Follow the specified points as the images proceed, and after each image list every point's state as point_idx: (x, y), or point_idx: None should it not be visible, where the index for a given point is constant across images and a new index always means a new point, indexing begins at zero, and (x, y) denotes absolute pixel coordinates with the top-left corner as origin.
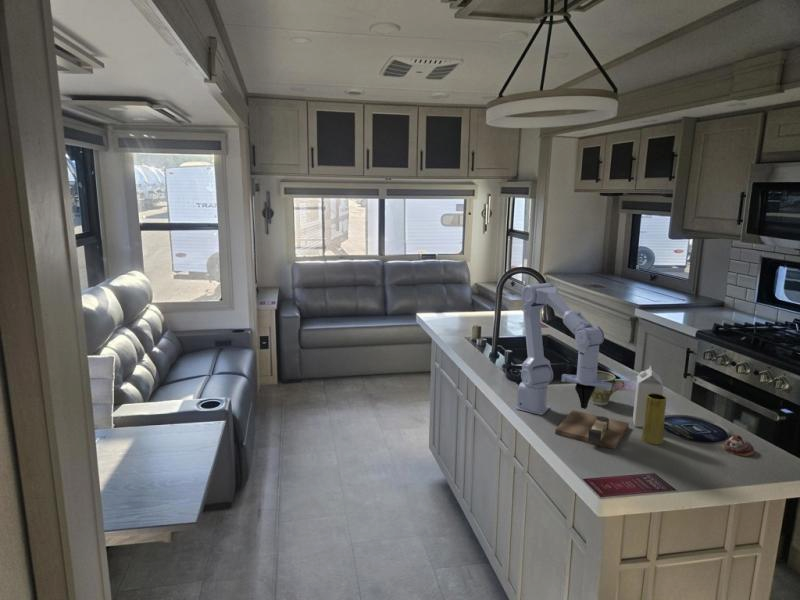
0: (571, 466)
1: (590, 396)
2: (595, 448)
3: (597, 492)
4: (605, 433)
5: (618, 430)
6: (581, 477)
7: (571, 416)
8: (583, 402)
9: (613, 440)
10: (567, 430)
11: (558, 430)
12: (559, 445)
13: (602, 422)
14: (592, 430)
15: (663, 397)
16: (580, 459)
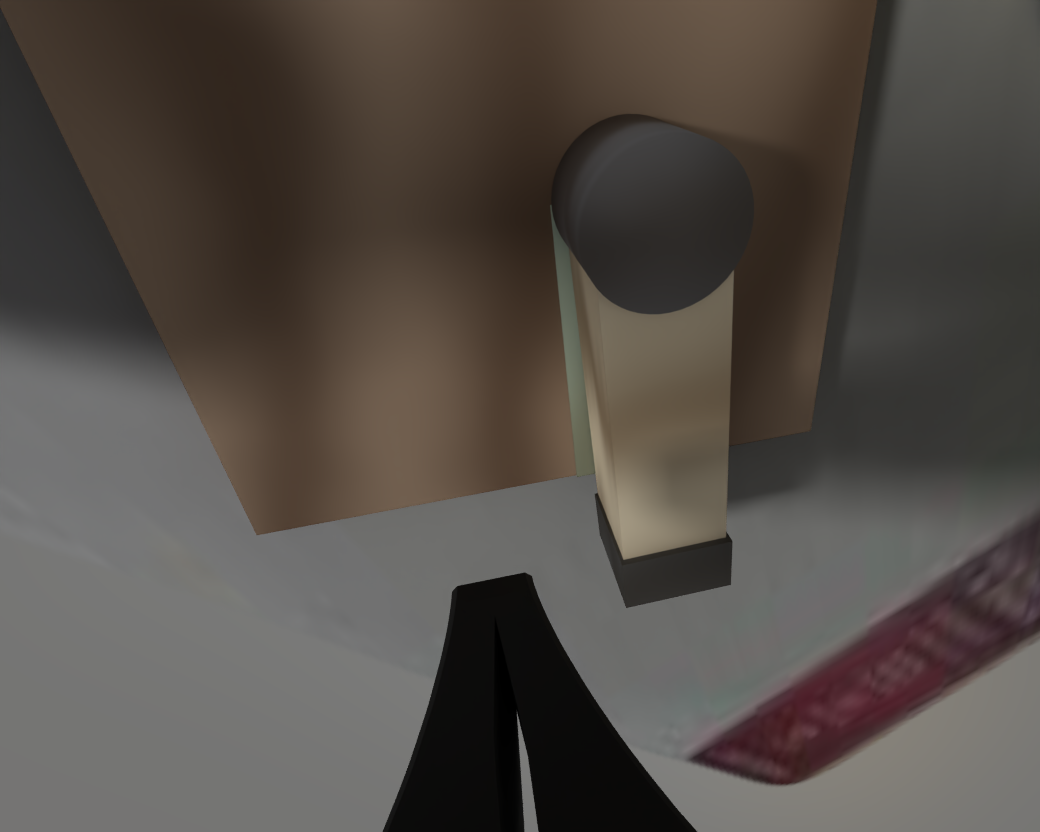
0: None
1: (620, 753)
2: None
3: (769, 782)
4: None
5: (806, 90)
6: (678, 756)
7: (107, 92)
8: (514, 747)
9: (786, 374)
10: (353, 482)
11: (289, 526)
12: (418, 616)
13: (685, 329)
14: (652, 581)
15: None
16: (614, 655)
